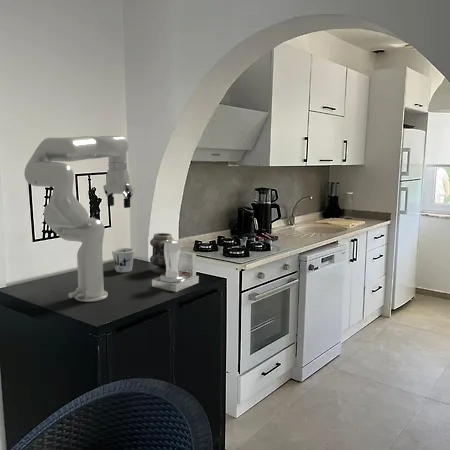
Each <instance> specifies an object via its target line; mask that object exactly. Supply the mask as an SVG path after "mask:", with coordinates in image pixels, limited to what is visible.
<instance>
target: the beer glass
mask: <svg viewBox="0 0 450 450" xmlns="http://www.w3.org/2000/svg"><path fill="white" fill-rule="evenodd" d="M180 251H181V242H180V240H175V239H174V240H169V241H165V242H164V258H165V263H166V274H165V273H164V274H165V276H166V277H167V278H177V277H179V276H180V275H179V260H180Z"/></svg>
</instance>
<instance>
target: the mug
mask: <svg viewBox="0 0 450 450" xmlns="http://www.w3.org/2000/svg"><path fill="white" fill-rule="evenodd" d="M111 252H112V258H113V263H114V269H115V271H116V272H117V273H129V272H132V269H133V266H134V265H133V264H134V256H135V249H133V248H130V247H121V248H120V247H119V248H115V249H113V250H111Z"/></svg>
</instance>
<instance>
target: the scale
mask: <svg viewBox="0 0 450 450" xmlns="http://www.w3.org/2000/svg"><path fill="white" fill-rule="evenodd" d="M179 273H183V274H185V275H186V279H185V280H184V281H181V282H163V281H161V280H160V276H159V277H157V278H156V277H155V278H153V279H151V286H152V287H153V288H156V289H161V290H166V291H170V292H175V293H177V292H179V291H183V290H185V289H187V288H189V287H192V286H194V285H196V284H199V283H200V279H199V277H200V276H199V275H197V253H195V252H189V251H183V250H180V260H179Z"/></svg>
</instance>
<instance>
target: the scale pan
mask: <svg viewBox="0 0 450 450" xmlns="http://www.w3.org/2000/svg"><path fill="white" fill-rule="evenodd" d="M165 274H166V273H163V274H160V276H159V277H160V280H161V281H163V282H181V281H184V280H185V279H186V275H185V274H183V273H179V275H180V276H179V277H177V278H167V277H166V276H165Z"/></svg>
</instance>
